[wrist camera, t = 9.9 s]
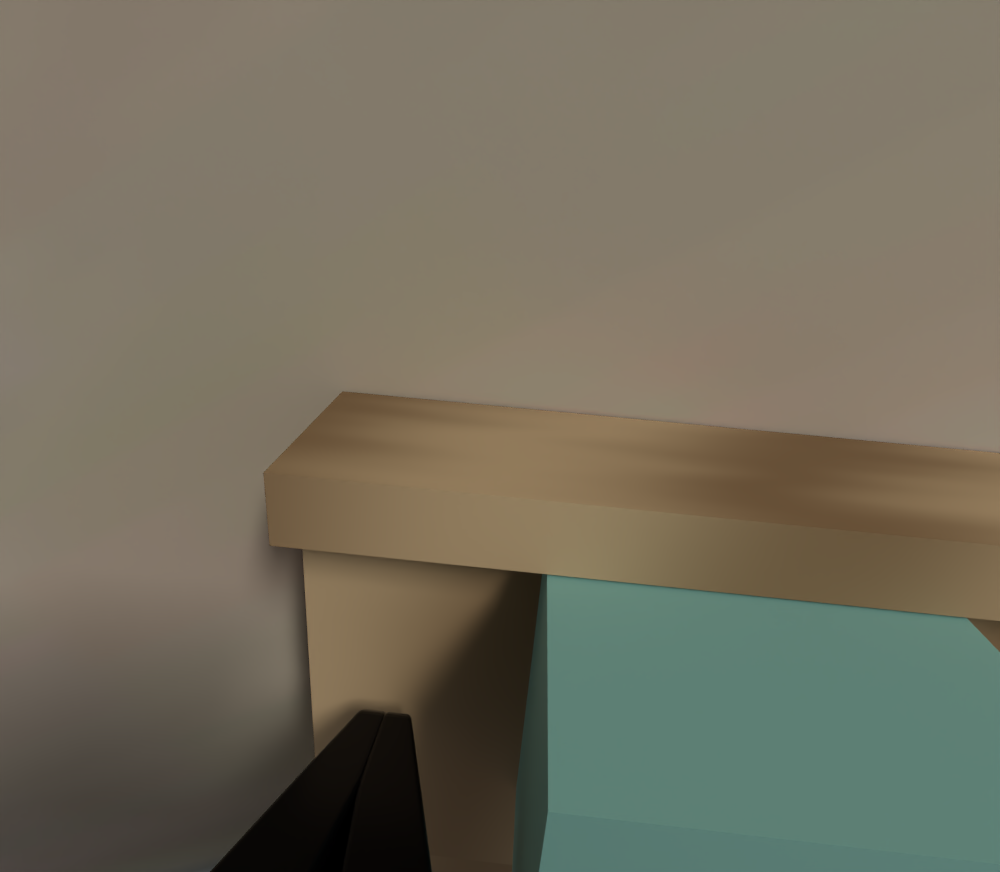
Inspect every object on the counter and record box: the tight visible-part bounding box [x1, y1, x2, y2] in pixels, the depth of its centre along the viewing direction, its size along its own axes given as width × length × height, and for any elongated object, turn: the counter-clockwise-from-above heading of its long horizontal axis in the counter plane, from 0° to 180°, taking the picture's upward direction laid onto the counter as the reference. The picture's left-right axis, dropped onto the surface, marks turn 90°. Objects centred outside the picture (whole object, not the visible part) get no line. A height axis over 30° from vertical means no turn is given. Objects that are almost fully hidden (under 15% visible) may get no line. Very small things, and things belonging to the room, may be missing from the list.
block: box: [512, 574, 1000, 872], centre depth 7 cm, size 5×5×4 cm
